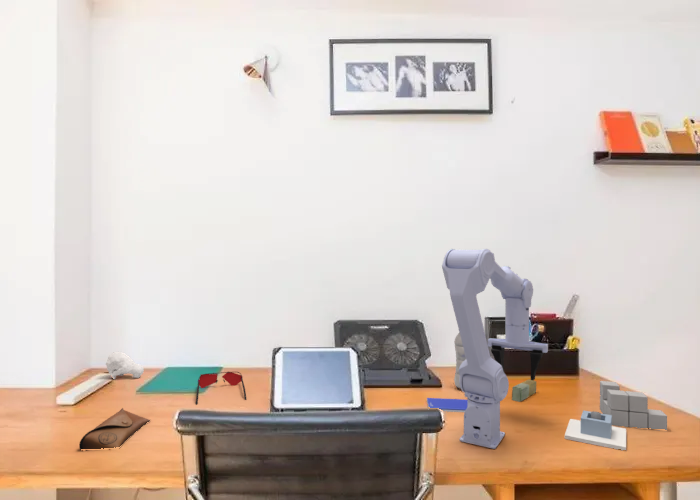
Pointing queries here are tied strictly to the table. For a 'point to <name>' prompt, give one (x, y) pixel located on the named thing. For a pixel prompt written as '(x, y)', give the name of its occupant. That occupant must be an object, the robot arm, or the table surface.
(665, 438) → the table surface
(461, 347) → the plastic bottle
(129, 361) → the white lumpy piece
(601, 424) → the grey square ring
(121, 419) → the sunglasses case
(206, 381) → the glasses
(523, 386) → the medication box
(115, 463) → the table surface
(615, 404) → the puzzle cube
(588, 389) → the table surface
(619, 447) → the post plate
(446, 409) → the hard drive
